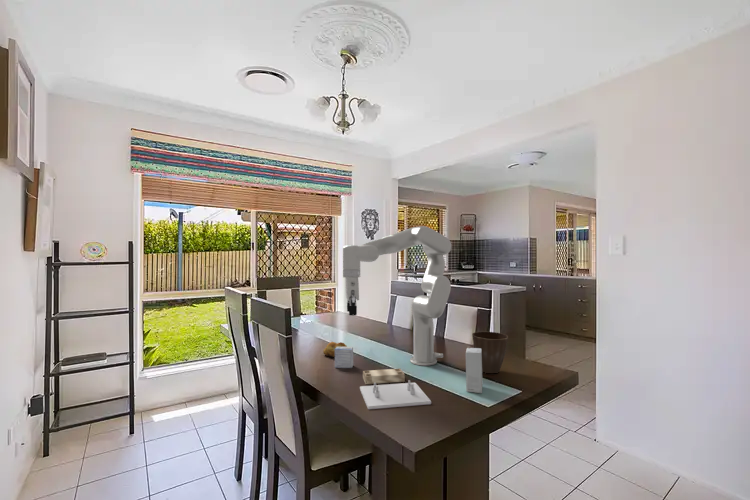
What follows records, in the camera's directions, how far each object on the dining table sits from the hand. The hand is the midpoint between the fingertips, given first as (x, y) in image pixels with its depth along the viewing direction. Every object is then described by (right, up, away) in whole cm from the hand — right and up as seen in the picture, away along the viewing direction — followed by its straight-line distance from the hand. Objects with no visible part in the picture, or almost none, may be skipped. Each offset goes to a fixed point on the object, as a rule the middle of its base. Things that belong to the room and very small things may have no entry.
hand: (351, 313), depth 155 cm
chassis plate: (+17, -26, -25) cm, 40 cm away
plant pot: (+60, -26, +2) cm, 66 cm away
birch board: (+13, -26, -9) cm, 30 cm away
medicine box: (-4, -26, +8) cm, 28 cm away
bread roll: (-10, -26, +25) cm, 38 cm away
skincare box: (+48, -26, -18) cm, 58 cm away
